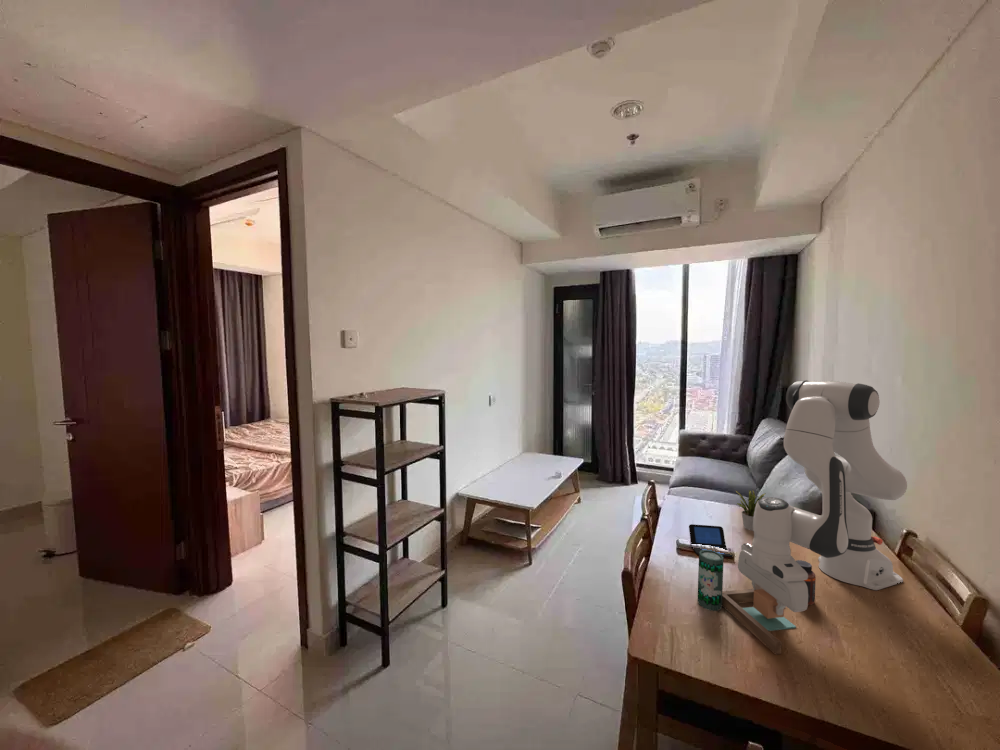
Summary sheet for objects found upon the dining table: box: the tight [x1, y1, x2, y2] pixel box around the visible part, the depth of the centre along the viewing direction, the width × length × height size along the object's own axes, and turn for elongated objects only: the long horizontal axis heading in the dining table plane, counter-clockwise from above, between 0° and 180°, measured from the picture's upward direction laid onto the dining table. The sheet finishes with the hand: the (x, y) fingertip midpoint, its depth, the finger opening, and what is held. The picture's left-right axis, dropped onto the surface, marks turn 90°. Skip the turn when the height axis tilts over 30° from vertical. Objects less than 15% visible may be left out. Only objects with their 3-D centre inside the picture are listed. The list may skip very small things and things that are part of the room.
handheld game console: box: [688, 523, 734, 559], centre depth 149 cm, size 12×11×7 cm
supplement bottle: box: [795, 559, 817, 606], centre depth 119 cm, size 6×6×11 cm
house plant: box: [735, 490, 766, 532], centre depth 165 cm, size 14×14×16 cm
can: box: [696, 550, 725, 612], centre depth 116 cm, size 6×6×15 cm
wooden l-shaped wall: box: [722, 588, 782, 655], centre depth 109 cm, size 21×21×3 cm
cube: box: [752, 589, 785, 619], centre depth 110 cm, size 5×5×5 cm
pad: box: [742, 606, 797, 632], centre depth 111 cm, size 9×9×1 cm
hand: (768, 605), depth 110 cm, fingers closed on cube, 5 cm apart
